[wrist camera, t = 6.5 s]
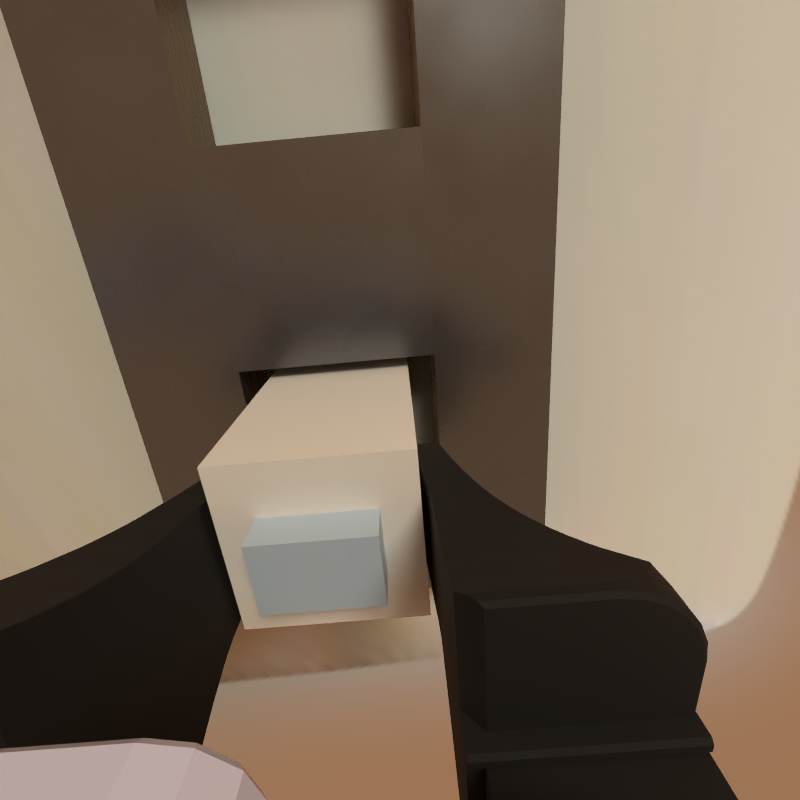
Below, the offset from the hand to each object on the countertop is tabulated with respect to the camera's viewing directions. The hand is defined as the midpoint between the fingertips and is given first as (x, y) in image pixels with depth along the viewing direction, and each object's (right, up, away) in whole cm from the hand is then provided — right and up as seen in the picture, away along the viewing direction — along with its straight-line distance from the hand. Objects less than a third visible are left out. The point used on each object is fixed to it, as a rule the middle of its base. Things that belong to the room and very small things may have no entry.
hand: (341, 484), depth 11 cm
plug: (0, +2, +3) cm, 3 cm away
